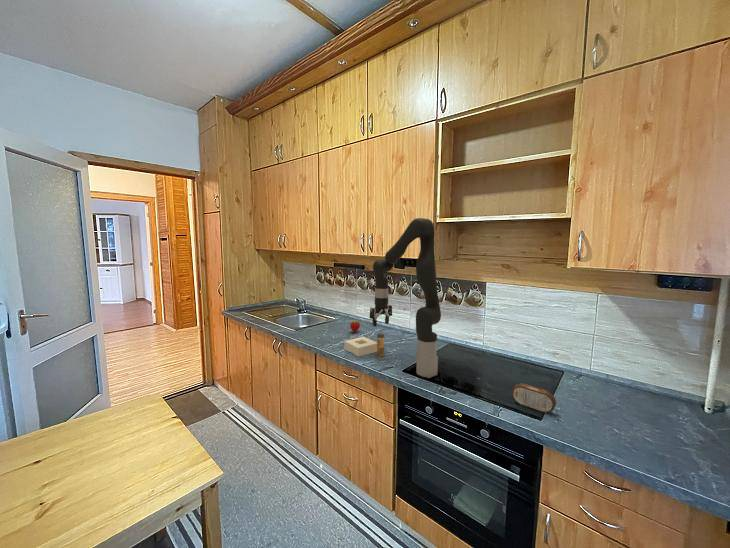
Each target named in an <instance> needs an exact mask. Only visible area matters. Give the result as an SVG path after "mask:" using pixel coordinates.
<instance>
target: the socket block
mask: <svg viewBox="0 0 730 548" xmlns="http://www.w3.org/2000/svg"><path fill="white" fill-rule="evenodd" d="M344 350H345V351H347V352H348V353H350V352H351V353H350V354H352V353H353V354H352V355H354V356H356V357H358V358H359V357H362V356H367V355H370V354H372V353H373V354H374V353H377V341H375V340H371V339H370V338H368V337H365V336H362V337H357V338H353V339H352V338H351V339H348V340H344Z"/></svg>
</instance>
